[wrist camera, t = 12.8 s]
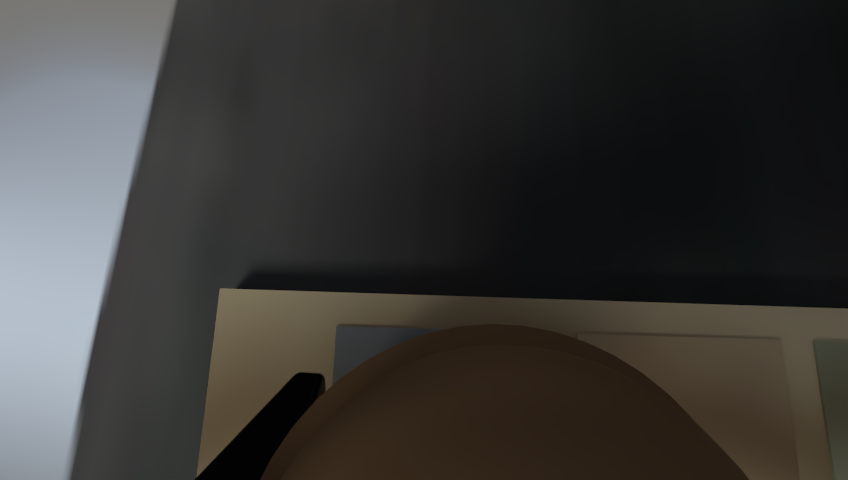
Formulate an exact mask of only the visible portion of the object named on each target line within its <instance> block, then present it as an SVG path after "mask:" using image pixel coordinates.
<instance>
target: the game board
mask: <svg viewBox="0 0 848 480" xmlns="http://www.w3.org/2000/svg"><path fill="white" fill-rule="evenodd" d="M483 324H502V325H521V326H527V327H533V328H538V329H544V330H549V331H554V332H557V333H560V334H563V335H566V336H570V337H573V338H576V339H579V340H582V341H585V342H587V343H589V344H591V345H593V346H596V347H598V348H600V349H602V350H604V351H606V352H608V353H610V354H613V355H615V356H616V357H618V358H619V359H621V360H623V361H624V362H626V363H627V364H629V365H631V366H632V367H634V368H635V369H637V370H638V371H640V372H642V373H643V374H644V375H646V376H647V377H648V378H649V379H651V380H652V381H653V382H654V383H655V384H657V385H658V386H659V387H660V388H662V389H663V390H664V391H665V392H667V393H668V394H669V395H670V396H671V397H672V398H673V399H674V400H675V401H676V402H677V403H678V404H679V405H680V406H681V407H682V408H683V409H684V410H685V411H686V412H687V413H688V414H689V415H690V416H691V418H692V419H693V420H694V421H695V422H696V423H697V424H698V425H699V426H700V427H701V428H702V429H703V430H704V431H705V432H706V433H707V434H708V435H709V436H710V437H711V438H712V439H713V440H714V441H715V442H716V443H717V444H718V445H719V446H720V447H721V448H722V449H723V450H724V451H725V452H726V453H727V455H728V456H729V457H730V458H731V459H732V460H733V461H734V462H735V463H736V464H737V465H738V466H739V467H740V468H741V470H742V471H743V472H744V474H745V475H746V476H747V477H748V479H749V480H848V309H844V308H813V307H782V306H751V305H719V304H688V303H657V302H626V301H595V300H564V299H533V298H502V297H470V296H439V295H408V294H377V293H346V292H315V291H284V290H252V289H221V288H220V292H219V300H218V308H217V316H216V324H215V332H214V341H213V349H212V357H211V365H210V373H209V381H208V389H207V397H206V405H205V413H204V421H203V429H202V437H201V445H200V454H199V462H198V470H197V476H198V475H199V474H200V473H201V472H202V471H203V470H204V469H205V468H206V467H207V466H208V465H209V464H210V463H211V462H212V461H213V460H214V459H215V458H216V457H217V455H218V454H219V453H220V452H221V451H222V450H223V449H224V448H225V447H226V446H227V445H228V444H229V443H230V442H231V441H232V440H233V439H234V438H235V437H236V436H237V435H238V433H239V432H240V431H241V430H242V429H243V428H244V427H245V426H246V425H247V424H248V423H249V422H250V421H251V420H252V419H253V418H254V417H255V416H256V415H257V414H258V413H259V412H260V410H261V409H262V408H263V407H264V406H265V405H266V404H267V403H268V402H269V401H270V400H271V399H272V398H273V397H274V396H275V395H276V394H277V393H278V392H279V391H280V390H281V388H282V387H283V386H284V385H285V384H286V383H287V382H288V381H289V380H290V379H291V378H292V377H293V376H294V375H295V374H297V373H299V372H307V373H320V374H322V375H324V377H325V387H326V391H327V390H328V389H329V388H330V387H331V386H332V385H334V384H335V383H336V382H337V381H338V380H339V379H340V378H342V377H343V376H344V375H346V374H347V373H349V372H350V371H352V370H353V369H355V368H356V367H357V366H359V365H360V364H362V363H363V362H365V361H366V360H368V359H369V358H371V357H373V356H375V355H377V354H379V353H381V352H383V351H385V350H387V349H389V348H391V347H393V346H395V345H396V344H399V343H402V342H404V341H407V340H410V339H413V338H416V337H418V336H421V335H424V334H427V333H431V332H435V331H440V330H445V329H449V328H454V327H459V326H470V325H483Z"/></svg>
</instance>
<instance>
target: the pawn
mask: <svg viewBox="0 0 848 480" xmlns="http://www.w3.org/2000/svg"><path fill="white" fill-rule="evenodd" d="M260 480H749V479H748V477H747V476H746V475H745V474H744V472H743V471H742V470H741V468H740V467H739V466H738V465H737V464H736V463H735V462H734V461H733V460H732V459H731V458H730V457H729V456H728V455H727V453H726V452H725V451H724V450H723V449H722V448H721V447H720V446H719V445H718V444H717V443H716V442H715V441H714V440H713V439H712V438H711V437H710V436H709V435H708V434H707V433H706V432H705V431H704V430H703V429H702V428H701V427H700V426H699V425H698V424H697V423H696V422H695V421H694V420H693V419H692V418H691V416H690V415H689V414H688V413H687V412H686V411H685V410H684V409H683V408H682V407H681V406H680V405H679V404H678V403H677V402H676V401H675V400H674V399H673V398H672V397H671V396H670V395H669V394H668V393H667V392H665V391H664V390H663V389H662V388H660V387H659V386H658V385H657V384H655V383H654V382H653V381H652V380H651V379H649V378H648V377H647V376H646V375H644V374H643V373H642V372H640V371H638V370H637V369H635V368H634V367H632V366H631V365H629V364H627V363H626V362H624V361H623V360H621V359H619V358H618V357H616V356H615V355H613V354H610V353H608V352H606V351H604V350H602V349H600V348H598V347H596V346H593V345H591V344H589V343H587V342H585V341H582V340H579V339H576V338H573V337H570V336H566V335H563V334H560V333H557V332H554V331H549V330H544V329H538V328H533V327H527V326H521V325H502V324H483V325H470V326H459V327H454V328H449V329H445V330H440V331H435V332H431V333H427V334H424V335H421V336H418V337H416V338H413V339H410V340H407V341H404V342H402V343H399V344H396V345H395V346H393V347H391V348H389V349H387V350H385V351H383V352H381V353H379V354H377V355H375V356H373V357H371V358H369V359H368V360H366V361H365V362H363V363H362V364H360V365H359V366H357V367H356V368H355V369H353V370H352V371H350V372H349V373H347V374H346V375H344V376H343V377H342V378H340V379H339V380H338V381H337V382H336V383H335V384H334V385H332V386H331V387H330V388H329V389H328V390H327V391H326V392H325V393H323V394H322V395H321V396H320V397H319V398H318V399H317V400H316V401H315V402H314V403H313V404H312V405H311V406H310V407H309V409H308V410H307V411H306V412H305V413H304V414H303V416H302V417H301V418H300V419H299V420H298V421H297V422H296V424H295V425H294V426H293V427H292V428H291V430H290V431H289V433H288V434H287V436H286V437H285V439H284V440H283V442H282V443H281V445H280V446H279V448H278V449H277V451H276V452H275V453H274V455H273V456H272V458H271V460H270V462H269V464H268V466H267V468H266V470H265V471H264V473H263V475H262V477H261V479H260Z"/></svg>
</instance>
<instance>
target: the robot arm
mask: <svg viewBox="0 0 848 480" xmlns="http://www.w3.org/2000/svg"><path fill="white" fill-rule="evenodd" d="M325 392H326V387H325V377H324V375H322V374H320V373H307V372H299V373H297V374H295V375H294V376H293V377H292V378H291V379H290V380H289V381H288V382H287V383H286V384H285V385H284V386H283V387H282V388H281V390H280V391H279V392H278V393H277V394H276V395H275V396H274V397H273V398H272V399H271V400H270V401H269V402H268V403H267V404H266V405H265V406H264V407H263V408H262V409H261V410H260V412H259V413H258V414H257V415H256V416H255V417H254V418H253V419H252V420H251V421H250V422H249V423H248V424H247V425H246V426H245V427H244V428H243V429H242V430H241V431H240V432H239V433H238V435H237V436H236V437H235V438H234V439H233V440H232V441H231V442H230V443H229V444H228V445H227V446H226V447H225V448H224V449H223V450H222V451H221V452H220V453H219V454H218V455H217V457H216V458H215V459H214V460H213V461H212V462H211V463H210V464H209V465H208V466H207V467H206V468H205V469H204V470H203V471H202V472H201V473H200V474H199V475H198V476H197V477H196V479H195V480H260V479H261V477H262V475H263V473H264V471H265V470H266V468H267V466H268V464H269V462H270V460H271V458H272V456H273V455H274V453H275V452H276V451H277V449H278V448H279V446H280V445H281V443H282V442H283V440H284V439H285V437H286V436H287V434H288V433H289V431H290V430H291V428H292V427H293V426H294V425H295V424H296V422H297V421H298V420H299V419H300V418H301V417H302V416H303V414H304V413H305V412H306V411H307V410H308V409H309V407H310V406H311V405H312V404H313V403H314V402H315V401H316V400H317V399H318V398H319V397H320V396H321V395H322V394H323V393H325Z"/></svg>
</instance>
